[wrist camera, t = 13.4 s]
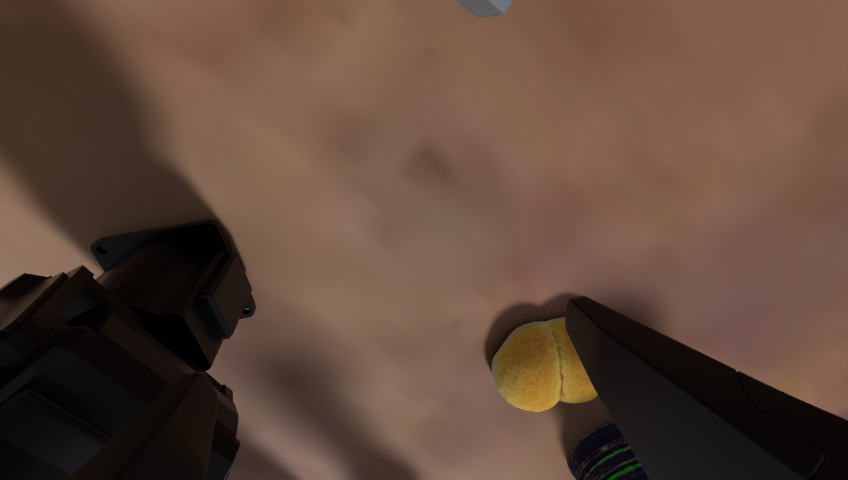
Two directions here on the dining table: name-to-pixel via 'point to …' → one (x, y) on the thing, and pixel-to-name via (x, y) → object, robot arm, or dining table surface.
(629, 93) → the dining table surface
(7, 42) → the dining table surface
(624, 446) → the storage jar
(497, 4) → the jig
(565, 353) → the bread roll
